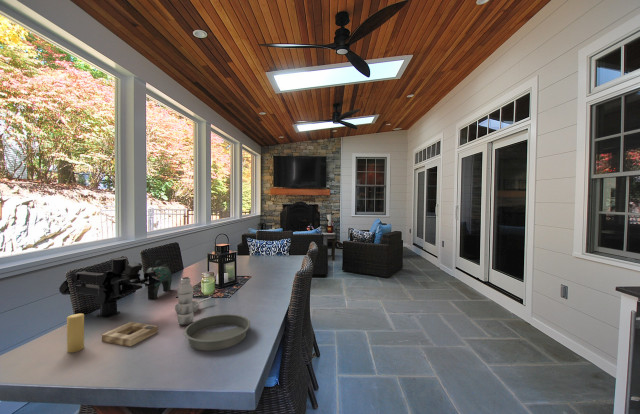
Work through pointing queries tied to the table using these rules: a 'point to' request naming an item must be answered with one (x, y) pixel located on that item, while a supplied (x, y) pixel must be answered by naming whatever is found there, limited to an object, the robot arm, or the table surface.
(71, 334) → the peg
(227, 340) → the cake pan
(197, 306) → the saucepan
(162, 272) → the green elephant figurine
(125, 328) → the wooden slotted board
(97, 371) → the table surface
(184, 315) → the plastic bottle
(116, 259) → the robot arm
